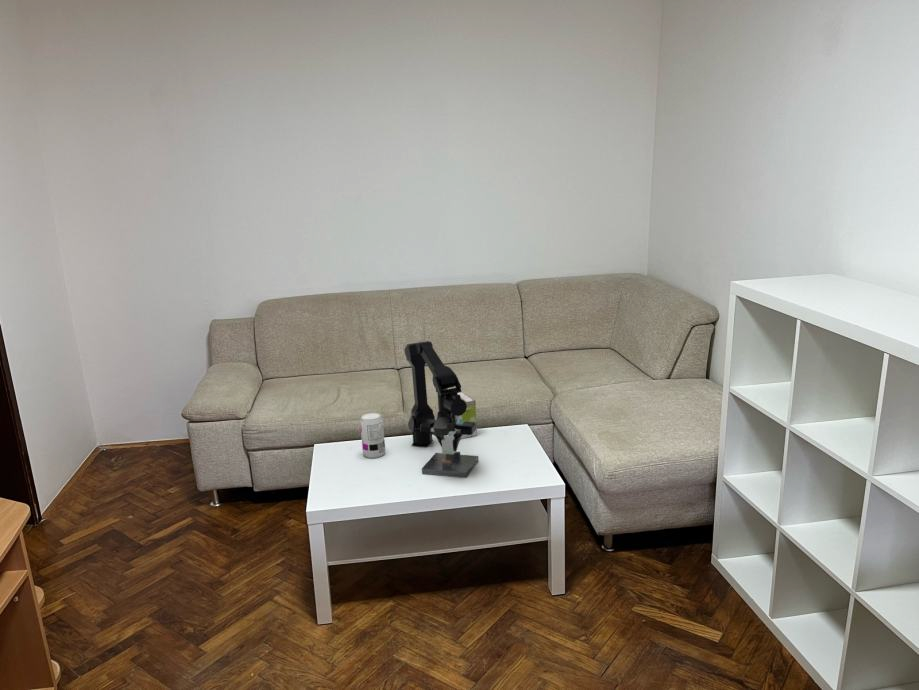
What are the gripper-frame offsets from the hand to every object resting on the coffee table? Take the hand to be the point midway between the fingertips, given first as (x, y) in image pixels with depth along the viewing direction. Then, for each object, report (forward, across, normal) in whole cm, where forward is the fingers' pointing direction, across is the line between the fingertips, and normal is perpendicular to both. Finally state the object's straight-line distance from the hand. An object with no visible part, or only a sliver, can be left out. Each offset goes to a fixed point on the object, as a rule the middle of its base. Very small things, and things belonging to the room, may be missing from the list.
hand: (449, 450), depth 249 cm
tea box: (+7, -8, +33) cm, 35 cm away
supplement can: (+7, -32, +6) cm, 33 cm away
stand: (+6, 0, 0) cm, 6 cm away
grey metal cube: (+1, 0, 0) cm, 1 cm away
